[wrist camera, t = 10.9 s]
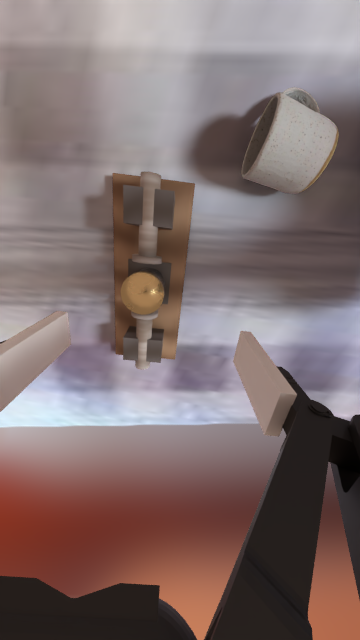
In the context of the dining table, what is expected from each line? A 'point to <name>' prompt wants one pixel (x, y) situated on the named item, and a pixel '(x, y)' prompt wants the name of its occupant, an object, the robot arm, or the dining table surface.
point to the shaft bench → (150, 260)
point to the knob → (143, 291)
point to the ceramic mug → (290, 143)
